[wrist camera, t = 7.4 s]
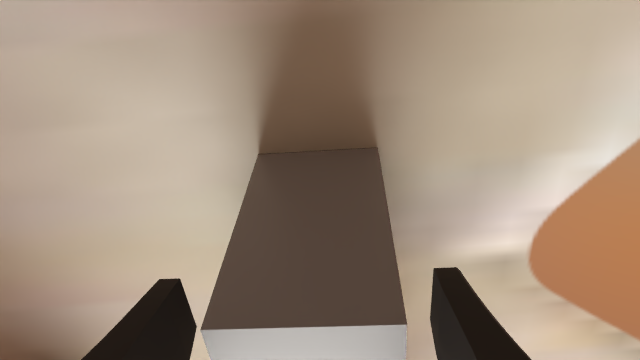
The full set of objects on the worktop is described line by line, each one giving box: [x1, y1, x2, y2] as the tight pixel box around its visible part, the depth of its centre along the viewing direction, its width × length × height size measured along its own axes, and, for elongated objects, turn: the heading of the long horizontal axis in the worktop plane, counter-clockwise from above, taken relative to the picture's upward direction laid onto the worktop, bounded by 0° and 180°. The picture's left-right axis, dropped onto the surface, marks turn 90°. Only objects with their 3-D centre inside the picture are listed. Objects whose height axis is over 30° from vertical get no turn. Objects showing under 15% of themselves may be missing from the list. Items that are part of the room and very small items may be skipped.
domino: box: [201, 148, 407, 360], centre depth 15 cm, size 2×5×9 cm, turn 95°
